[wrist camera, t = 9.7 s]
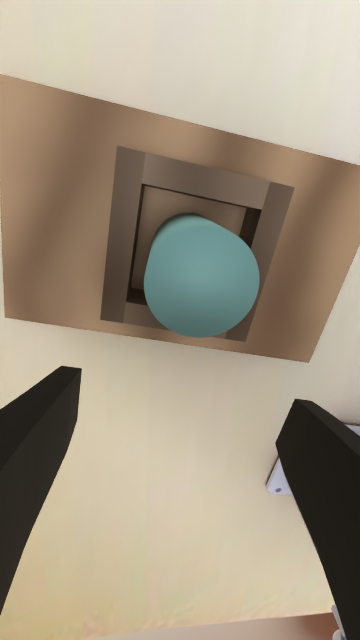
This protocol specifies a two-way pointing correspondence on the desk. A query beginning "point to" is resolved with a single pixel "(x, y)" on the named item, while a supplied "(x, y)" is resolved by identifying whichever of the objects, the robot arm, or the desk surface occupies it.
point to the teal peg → (199, 276)
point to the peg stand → (163, 218)
